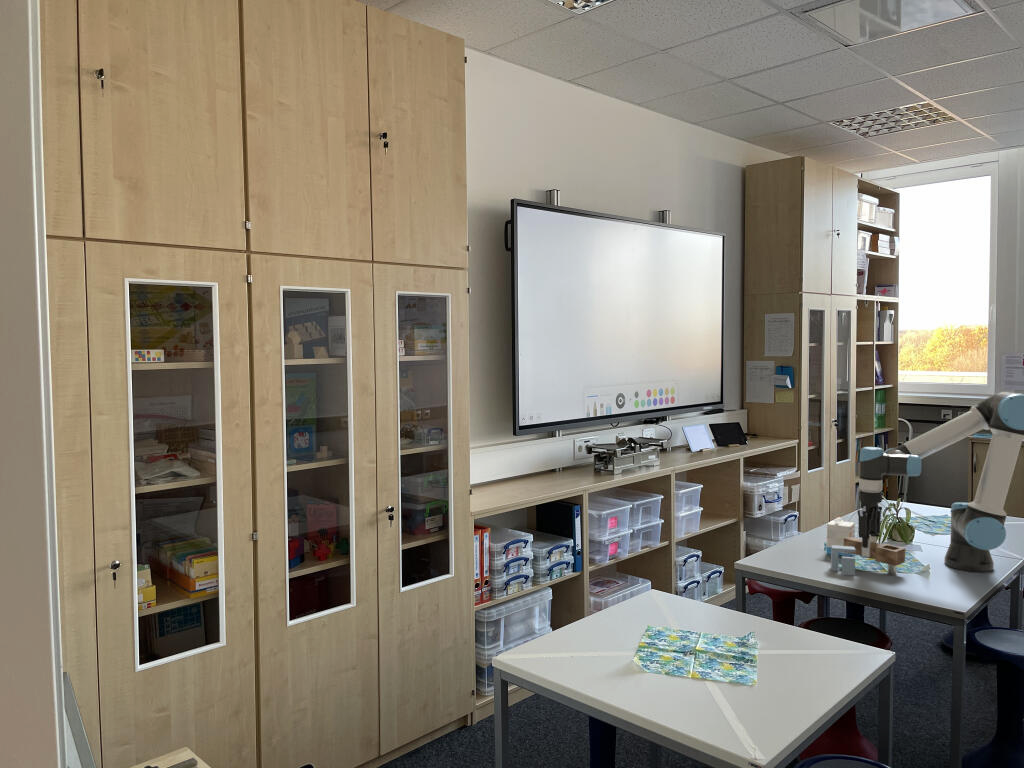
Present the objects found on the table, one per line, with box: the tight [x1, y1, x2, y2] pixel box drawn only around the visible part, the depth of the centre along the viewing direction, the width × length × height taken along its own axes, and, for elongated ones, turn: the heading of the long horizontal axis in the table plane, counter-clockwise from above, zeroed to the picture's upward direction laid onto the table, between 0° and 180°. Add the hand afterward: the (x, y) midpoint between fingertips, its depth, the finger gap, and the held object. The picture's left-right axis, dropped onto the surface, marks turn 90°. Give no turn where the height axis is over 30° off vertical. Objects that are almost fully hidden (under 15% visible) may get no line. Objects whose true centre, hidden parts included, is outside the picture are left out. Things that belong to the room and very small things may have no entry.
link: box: [844, 537, 907, 567], centre depth 264 cm, size 20×7×5 cm, turn 38°
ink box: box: [826, 516, 856, 557], centre depth 286 cm, size 9×8×13 cm
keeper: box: [830, 545, 856, 576], centre depth 262 cm, size 8×8×8 cm
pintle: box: [887, 564, 898, 576], centre depth 259 cm, size 3×3×8 cm
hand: (868, 555), depth 265 cm, fingers closed on link, 4 cm apart
